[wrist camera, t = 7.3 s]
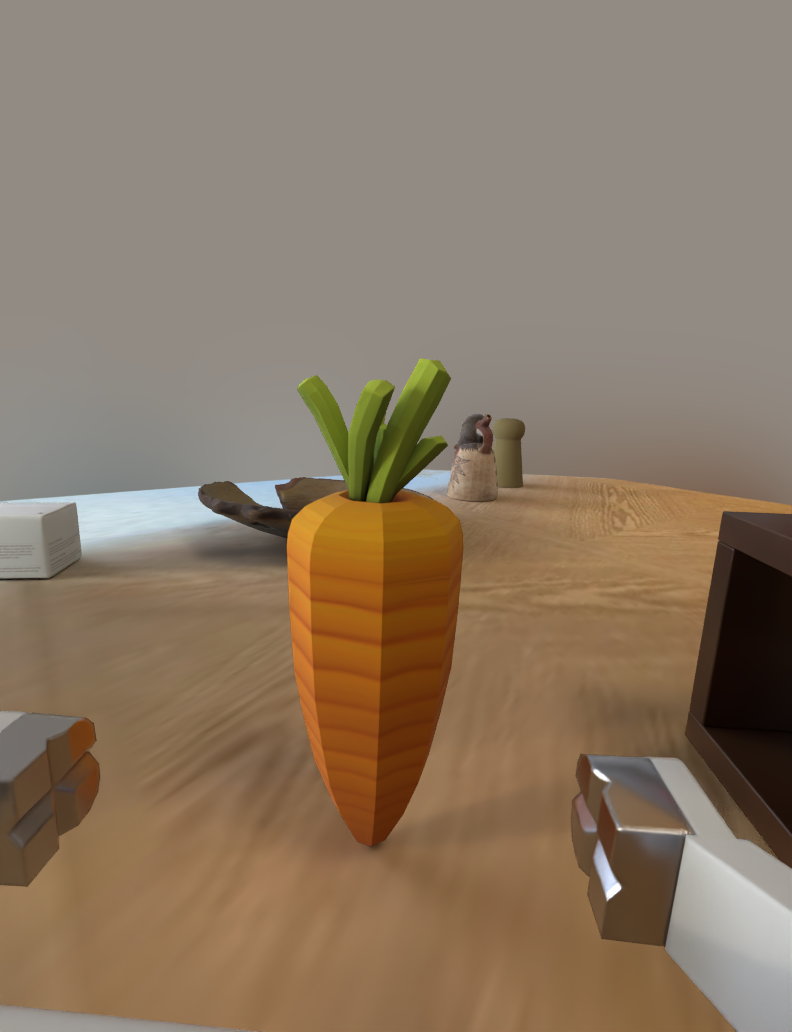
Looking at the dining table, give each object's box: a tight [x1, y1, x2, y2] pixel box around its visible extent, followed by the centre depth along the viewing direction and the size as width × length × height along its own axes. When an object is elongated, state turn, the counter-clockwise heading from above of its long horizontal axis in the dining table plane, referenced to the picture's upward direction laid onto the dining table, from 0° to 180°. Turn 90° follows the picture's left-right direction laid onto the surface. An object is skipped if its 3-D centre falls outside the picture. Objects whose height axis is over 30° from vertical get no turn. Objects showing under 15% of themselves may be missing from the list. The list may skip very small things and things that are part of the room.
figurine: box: [447, 414, 498, 501], centre depth 76 cm, size 7×7×12 cm
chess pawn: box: [493, 418, 525, 488], centre depth 88 cm, size 6×6×11 cm
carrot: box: [287, 358, 463, 846], centre depth 15 cm, size 5×5×15 cm
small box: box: [0, 502, 82, 578], centre depth 41 cm, size 6×6×5 cm
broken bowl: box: [198, 477, 433, 538], centre depth 54 cm, size 22×30×8 cm
